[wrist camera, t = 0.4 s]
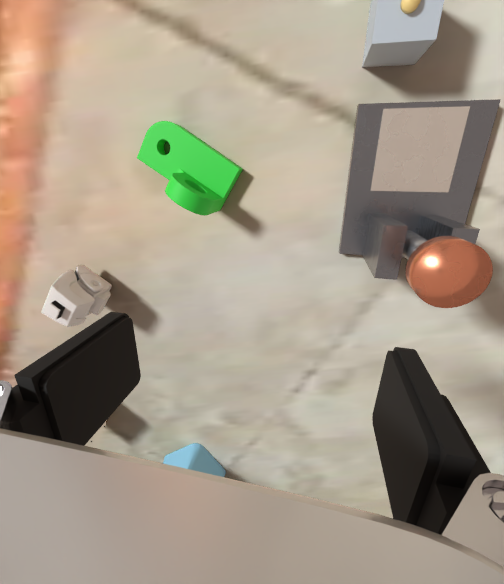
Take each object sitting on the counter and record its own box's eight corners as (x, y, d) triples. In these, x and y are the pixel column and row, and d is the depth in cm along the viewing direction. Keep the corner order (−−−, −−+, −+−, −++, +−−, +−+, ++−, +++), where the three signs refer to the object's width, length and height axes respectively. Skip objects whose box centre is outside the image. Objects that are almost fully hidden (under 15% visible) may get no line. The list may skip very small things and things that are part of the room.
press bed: (357, 106, 31) (373, 78, 22) (493, 102, 29) (573, 69, 20) (338, 251, 37) (345, 275, 28) (450, 257, 35) (496, 286, 26)
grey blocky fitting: (91, 259, 46) (35, 279, 37) (125, 284, 46) (78, 310, 37) (79, 285, 48) (24, 311, 39) (112, 309, 49) (64, 340, 40)
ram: (385, 216, 31) (421, 239, 20) (436, 218, 30) (503, 243, 19) (377, 261, 33) (406, 304, 22) (425, 264, 32) (479, 311, 21)
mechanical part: (243, 169, 36) (224, 167, 29) (220, 210, 39) (198, 218, 32) (163, 113, 36) (124, 98, 29) (145, 158, 38) (105, 155, 31)
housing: (370, 4, 28) (383, -40, 22) (426, -1, 27) (455, -49, 21) (362, 67, 30) (372, 41, 24) (414, 64, 29) (438, 36, 23)
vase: (229, 474, 58) (172, 666, 35) (195, 486, 62) (124, 667, 39) (198, 440, 56) (116, 620, 34) (165, 455, 60) (72, 625, 37)
